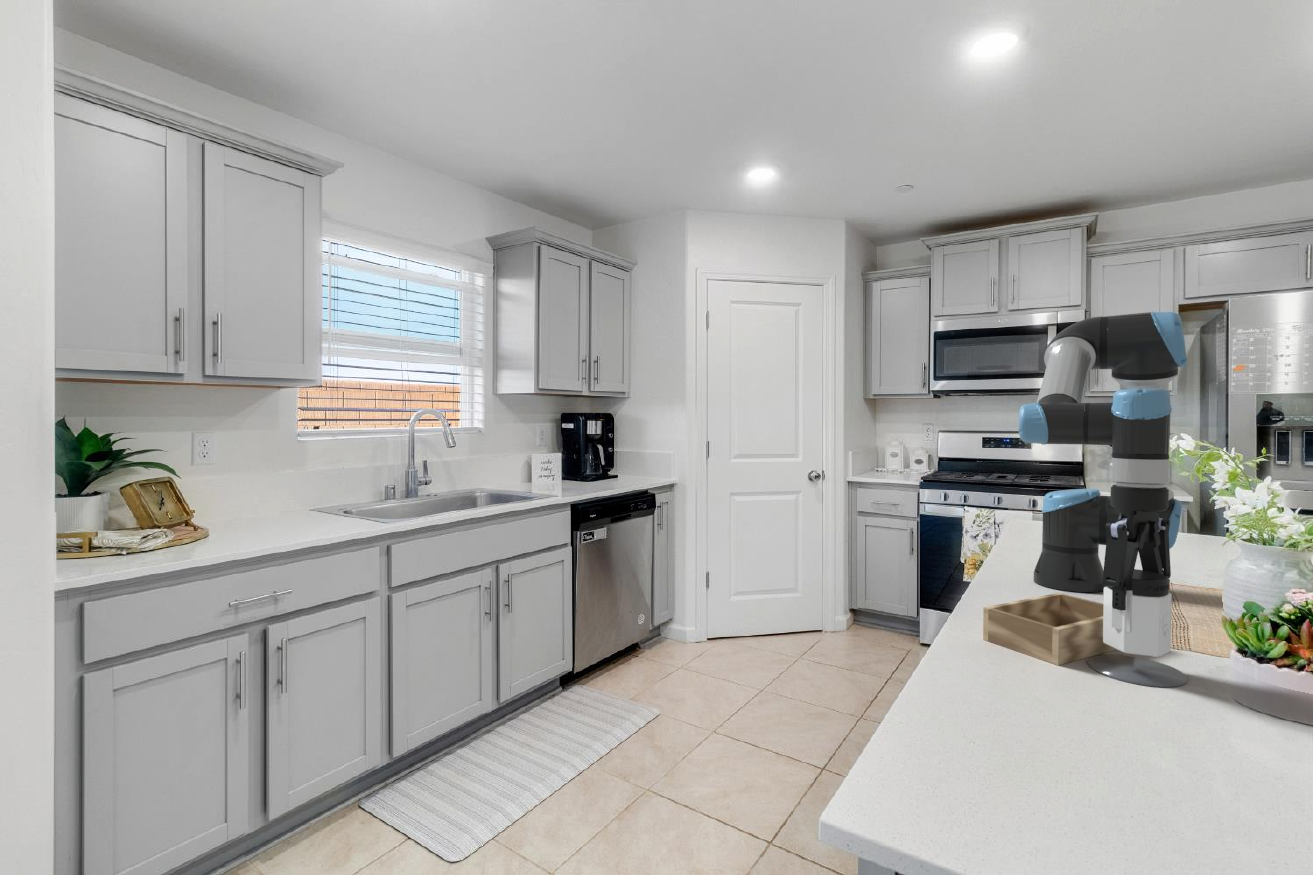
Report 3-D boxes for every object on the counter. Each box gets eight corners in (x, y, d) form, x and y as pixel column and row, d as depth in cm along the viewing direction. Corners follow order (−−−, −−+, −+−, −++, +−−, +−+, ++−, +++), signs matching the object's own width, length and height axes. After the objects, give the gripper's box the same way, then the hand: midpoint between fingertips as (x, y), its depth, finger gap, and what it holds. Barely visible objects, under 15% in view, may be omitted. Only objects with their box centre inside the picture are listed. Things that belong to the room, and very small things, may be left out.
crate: (1058, 622, 131) (1058, 592, 130) (1134, 644, 118) (1135, 611, 118) (983, 639, 121) (983, 607, 121) (1057, 665, 108) (1058, 629, 108)
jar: (1154, 661, 100) (1156, 583, 100) (1095, 645, 107) (1096, 573, 106) (1177, 649, 105) (1179, 575, 104) (1119, 635, 112) (1121, 565, 111)
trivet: (1116, 651, 115) (1116, 649, 115) (1204, 677, 103) (1204, 675, 103) (1070, 663, 109) (1070, 662, 109) (1158, 693, 97) (1158, 691, 97)
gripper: (1148, 480, 113) (1146, 611, 113) (1076, 485, 104) (1074, 627, 105) (1200, 483, 106) (1197, 623, 107) (1127, 490, 97) (1124, 642, 98)
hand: (1136, 625), depth 106 cm, fingers closed on jar, 7 cm apart
